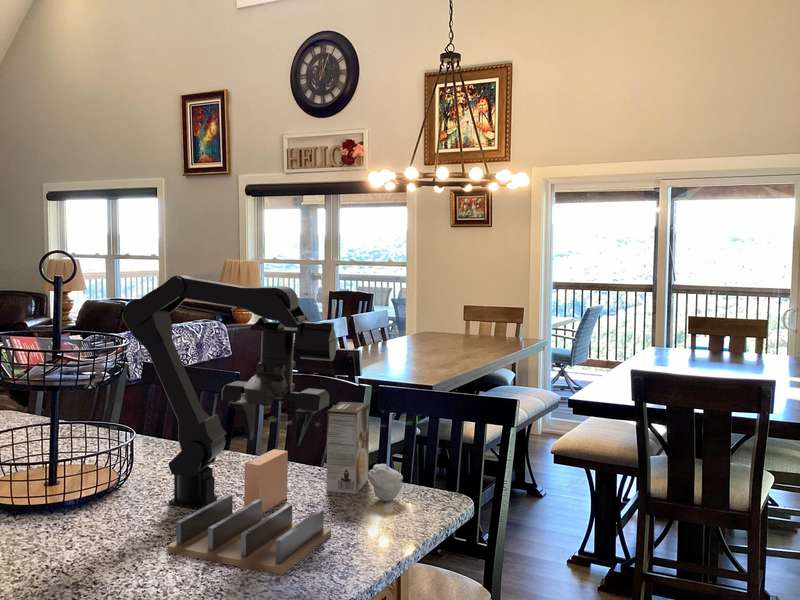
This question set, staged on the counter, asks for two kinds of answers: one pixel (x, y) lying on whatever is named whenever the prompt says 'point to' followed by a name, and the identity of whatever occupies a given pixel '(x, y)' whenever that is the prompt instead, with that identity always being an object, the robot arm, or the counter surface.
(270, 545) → the rack base
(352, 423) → the coffee box
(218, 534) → the rack dividers
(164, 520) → the counter surface
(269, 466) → the peach rectangular block
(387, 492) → the white rounded lump
